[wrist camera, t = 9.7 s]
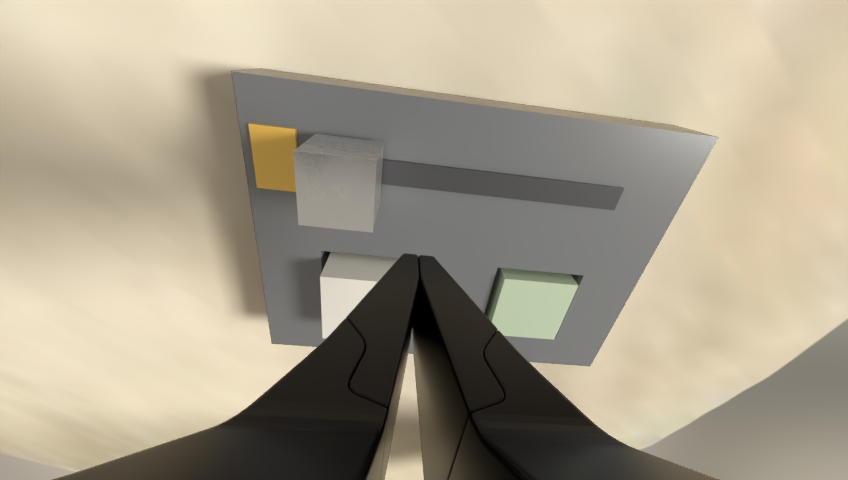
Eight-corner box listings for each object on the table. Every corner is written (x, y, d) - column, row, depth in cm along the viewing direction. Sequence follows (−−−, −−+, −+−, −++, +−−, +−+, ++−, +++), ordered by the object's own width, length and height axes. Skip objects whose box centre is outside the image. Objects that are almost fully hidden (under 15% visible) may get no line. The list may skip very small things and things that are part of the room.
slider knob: (379, 203, 16) (372, 232, 13) (318, 196, 16) (298, 225, 13) (383, 142, 14) (376, 161, 12) (315, 133, 14) (293, 151, 12)
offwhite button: (400, 314, 21) (398, 344, 19) (332, 308, 21) (322, 338, 19) (407, 258, 19) (406, 284, 17) (331, 250, 19) (320, 276, 16)
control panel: (572, 334, 26) (591, 368, 23) (287, 312, 24) (270, 345, 21) (674, 125, 18) (722, 138, 15) (261, 68, 16) (228, 71, 13)
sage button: (541, 312, 23) (554, 339, 21) (480, 307, 23) (487, 334, 21) (561, 261, 21) (578, 285, 19) (495, 255, 21) (504, 278, 18)
